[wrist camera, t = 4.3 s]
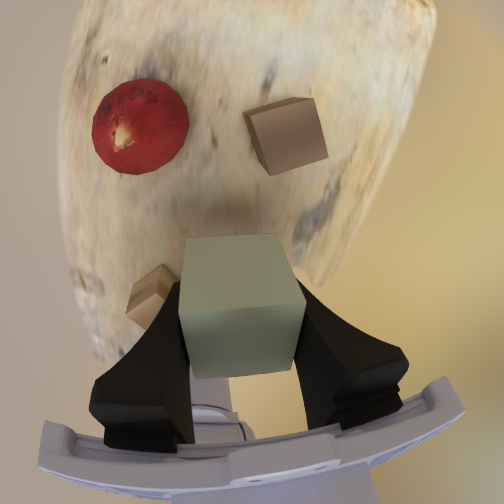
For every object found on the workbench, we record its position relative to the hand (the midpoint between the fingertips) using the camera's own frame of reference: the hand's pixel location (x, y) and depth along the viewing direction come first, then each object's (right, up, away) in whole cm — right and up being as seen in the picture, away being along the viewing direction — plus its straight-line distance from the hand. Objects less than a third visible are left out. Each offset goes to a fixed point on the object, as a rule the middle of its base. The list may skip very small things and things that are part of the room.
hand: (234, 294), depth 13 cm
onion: (-6, +11, +4) cm, 14 cm away
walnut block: (+3, +11, +5) cm, 13 cm away
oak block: (-8, -1, +11) cm, 14 cm away
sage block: (0, +1, +1) cm, 2 cm away
